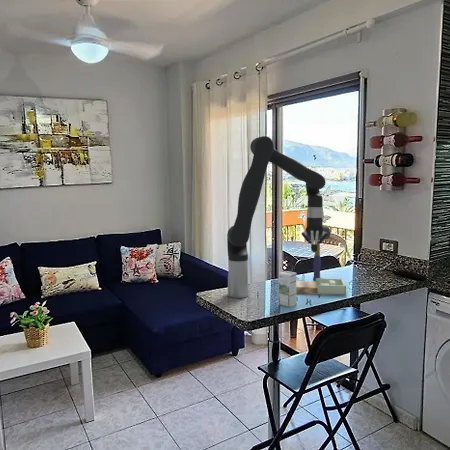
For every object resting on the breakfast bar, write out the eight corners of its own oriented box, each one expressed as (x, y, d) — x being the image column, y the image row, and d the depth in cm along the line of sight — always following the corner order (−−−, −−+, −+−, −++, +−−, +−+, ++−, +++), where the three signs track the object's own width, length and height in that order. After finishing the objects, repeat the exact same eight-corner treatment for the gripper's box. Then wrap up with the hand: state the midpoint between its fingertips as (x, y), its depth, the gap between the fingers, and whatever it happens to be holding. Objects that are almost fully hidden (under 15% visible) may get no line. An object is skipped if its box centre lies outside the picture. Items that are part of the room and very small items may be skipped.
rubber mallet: (311, 285, 215) (312, 227, 212) (302, 282, 222) (303, 226, 219) (330, 282, 221) (331, 225, 218) (321, 279, 228) (322, 224, 224)
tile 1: (320, 290, 205) (321, 285, 204) (320, 288, 209) (320, 283, 208) (329, 290, 204) (329, 285, 204) (328, 288, 208) (328, 283, 208)
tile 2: (330, 282, 204) (335, 282, 204) (329, 280, 208) (334, 280, 208) (329, 290, 204) (335, 290, 204) (328, 288, 208) (334, 288, 208)
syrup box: (296, 304, 185) (297, 272, 183) (289, 307, 181) (289, 274, 179) (285, 302, 189) (286, 270, 187) (278, 305, 184) (278, 272, 183)
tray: (317, 294, 200) (317, 285, 200) (315, 286, 214) (315, 278, 213) (345, 295, 198) (346, 286, 198) (342, 287, 212) (342, 278, 211)
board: (291, 293, 203) (291, 286, 203) (291, 286, 215) (291, 280, 214) (317, 293, 201) (317, 287, 201) (315, 287, 213) (316, 281, 213)
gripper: (301, 216, 201) (300, 252, 203) (329, 217, 199) (328, 253, 201) (300, 215, 208) (300, 250, 210) (328, 215, 206) (327, 250, 208)
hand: (314, 251), depth 205 cm, fingers closed
